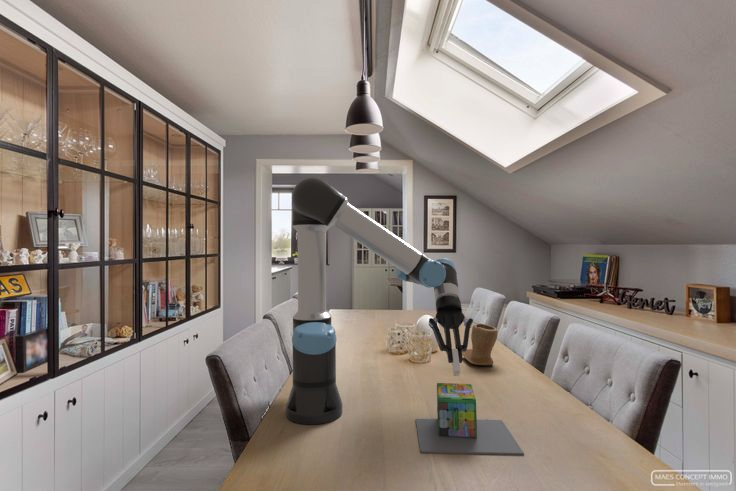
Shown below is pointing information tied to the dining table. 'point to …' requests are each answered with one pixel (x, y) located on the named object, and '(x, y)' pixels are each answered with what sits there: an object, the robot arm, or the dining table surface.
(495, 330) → the tan boot
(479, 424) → the mat
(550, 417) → the dining table surface
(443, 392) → the chalk box
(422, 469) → the dining table surface
